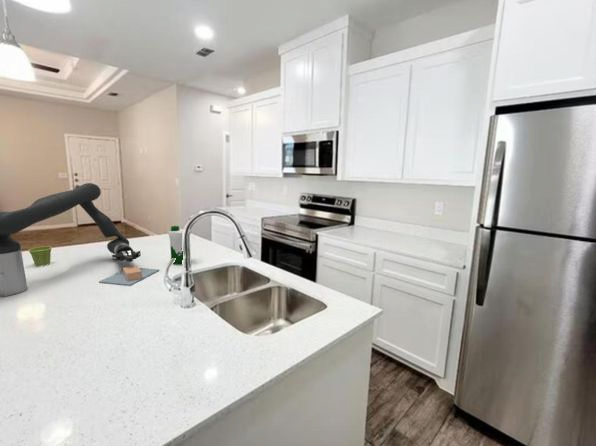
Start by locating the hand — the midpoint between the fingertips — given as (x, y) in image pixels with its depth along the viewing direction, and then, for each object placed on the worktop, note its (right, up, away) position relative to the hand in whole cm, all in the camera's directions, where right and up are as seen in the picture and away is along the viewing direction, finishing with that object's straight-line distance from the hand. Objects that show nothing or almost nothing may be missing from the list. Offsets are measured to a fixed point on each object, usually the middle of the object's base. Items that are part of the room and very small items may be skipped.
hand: (130, 259), depth 141 cm
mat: (0, -8, +1) cm, 8 cm away
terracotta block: (-2, -5, +3) cm, 6 cm away
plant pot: (-54, -5, +15) cm, 57 cm away
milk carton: (+15, -4, +22) cm, 27 cm away
